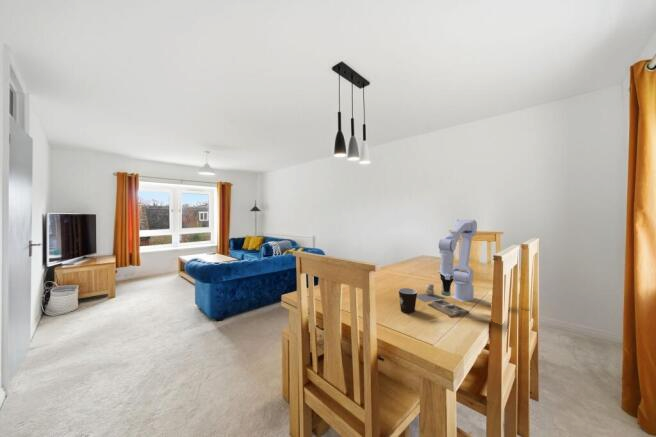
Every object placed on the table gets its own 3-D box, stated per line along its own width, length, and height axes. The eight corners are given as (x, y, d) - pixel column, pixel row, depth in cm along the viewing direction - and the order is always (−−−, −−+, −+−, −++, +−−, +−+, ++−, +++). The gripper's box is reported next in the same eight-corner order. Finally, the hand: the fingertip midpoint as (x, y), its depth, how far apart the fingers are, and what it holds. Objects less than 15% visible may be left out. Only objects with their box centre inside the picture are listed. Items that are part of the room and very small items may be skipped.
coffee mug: (418, 315, 114) (418, 294, 113) (399, 314, 115) (399, 293, 115) (414, 305, 125) (414, 286, 125) (397, 304, 127) (397, 285, 126)
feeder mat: (431, 293, 144) (431, 292, 144) (444, 299, 134) (444, 298, 134) (412, 296, 139) (412, 295, 139) (425, 302, 129) (425, 301, 129)
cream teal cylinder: (452, 294, 121) (452, 282, 120) (448, 296, 118) (448, 284, 118) (443, 292, 124) (444, 280, 124) (439, 294, 121) (440, 282, 121)
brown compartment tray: (445, 302, 129) (445, 298, 129) (469, 313, 116) (469, 308, 116) (427, 305, 125) (427, 301, 125) (450, 317, 112) (450, 312, 112)
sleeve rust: (429, 293, 142) (430, 283, 142) (435, 295, 138) (435, 285, 138) (424, 294, 141) (424, 284, 140) (429, 296, 137) (429, 286, 137)
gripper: (437, 259, 129) (436, 284, 129) (438, 265, 115) (437, 293, 116) (452, 260, 126) (451, 286, 126) (455, 267, 112) (454, 295, 113)
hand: (446, 290), depth 121 cm, fingers closed on cream teal cylinder, 4 cm apart
